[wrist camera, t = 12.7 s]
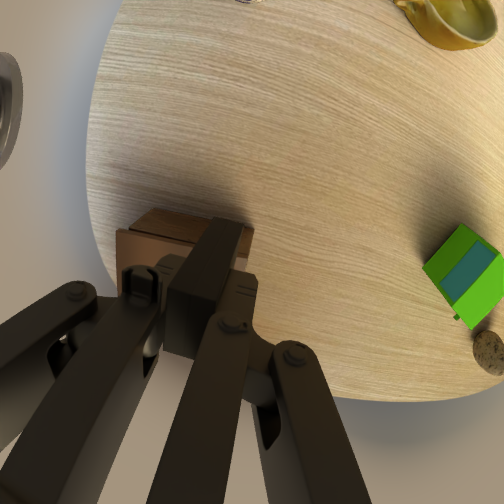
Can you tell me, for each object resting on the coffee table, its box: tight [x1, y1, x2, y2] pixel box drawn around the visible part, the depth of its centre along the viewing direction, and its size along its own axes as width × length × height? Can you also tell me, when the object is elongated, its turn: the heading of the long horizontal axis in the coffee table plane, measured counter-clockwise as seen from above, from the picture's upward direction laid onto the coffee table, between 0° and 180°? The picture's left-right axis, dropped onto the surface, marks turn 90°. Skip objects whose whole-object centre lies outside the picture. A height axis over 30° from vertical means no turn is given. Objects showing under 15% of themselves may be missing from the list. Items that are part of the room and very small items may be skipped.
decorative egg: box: [473, 331, 504, 376], centre depth 34 cm, size 6×6×10 cm
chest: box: [129, 208, 254, 256], centre depth 34 cm, size 13×13×7 cm
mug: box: [393, 0, 498, 51], centre depth 17 cm, size 12×10×10 cm
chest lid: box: [116, 228, 248, 297], centre depth 30 cm, size 13×13×1 cm
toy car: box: [422, 223, 504, 330], centre depth 29 cm, size 10×13×10 cm
